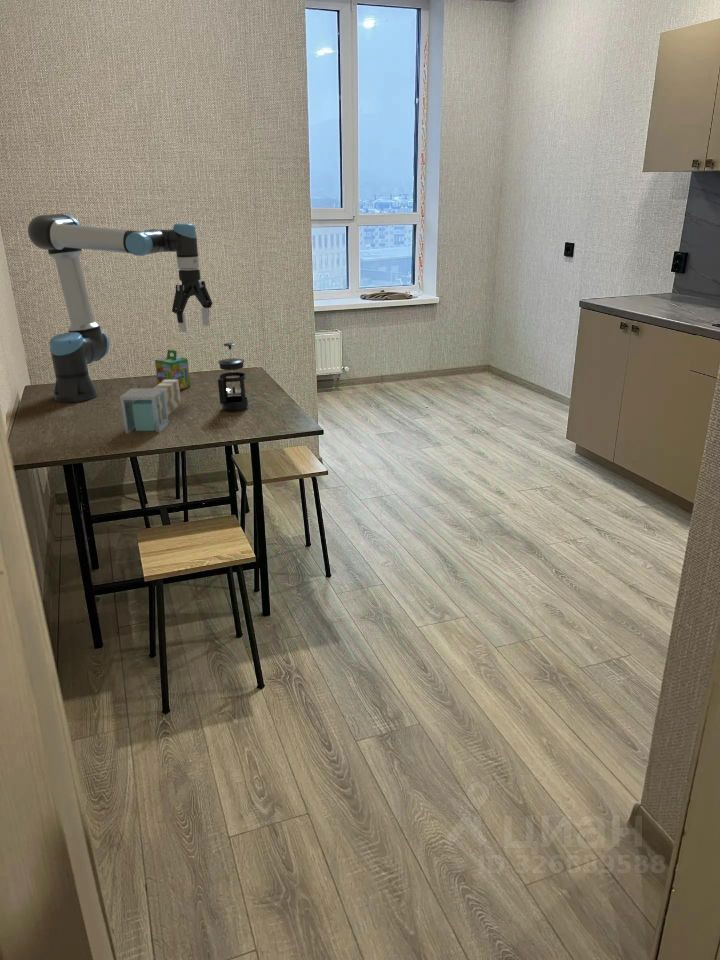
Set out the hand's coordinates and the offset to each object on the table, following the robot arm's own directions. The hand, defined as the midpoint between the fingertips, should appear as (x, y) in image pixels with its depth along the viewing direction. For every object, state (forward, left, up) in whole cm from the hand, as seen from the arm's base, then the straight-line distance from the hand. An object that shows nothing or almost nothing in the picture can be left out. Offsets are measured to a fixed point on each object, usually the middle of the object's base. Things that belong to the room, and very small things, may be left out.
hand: (195, 328), depth 260 cm
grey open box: (-7, -44, -24) cm, 51 cm away
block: (-7, -44, -24) cm, 51 cm away
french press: (+17, -22, -25) cm, 37 cm away
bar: (-7, -26, -25) cm, 36 cm away
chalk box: (-13, +7, -25) cm, 28 cm away
